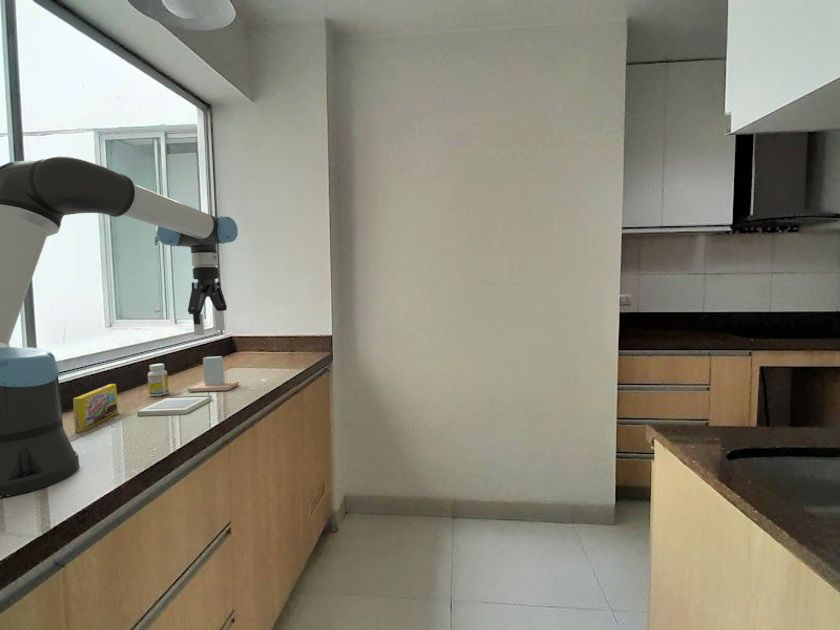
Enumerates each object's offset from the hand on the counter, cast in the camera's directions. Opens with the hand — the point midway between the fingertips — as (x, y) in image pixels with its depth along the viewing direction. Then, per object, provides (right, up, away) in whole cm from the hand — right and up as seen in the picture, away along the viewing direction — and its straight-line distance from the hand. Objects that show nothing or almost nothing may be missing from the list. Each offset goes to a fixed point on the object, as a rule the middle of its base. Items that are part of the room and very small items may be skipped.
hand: (210, 332), depth 145 cm
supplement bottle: (-14, -20, -4) cm, 25 cm away
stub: (+1, -18, +1) cm, 18 cm away
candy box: (-14, -22, -31) cm, 40 cm away
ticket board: (0, -20, -20) cm, 29 cm away
